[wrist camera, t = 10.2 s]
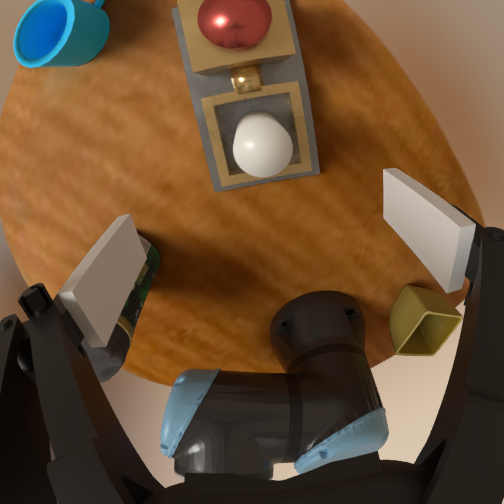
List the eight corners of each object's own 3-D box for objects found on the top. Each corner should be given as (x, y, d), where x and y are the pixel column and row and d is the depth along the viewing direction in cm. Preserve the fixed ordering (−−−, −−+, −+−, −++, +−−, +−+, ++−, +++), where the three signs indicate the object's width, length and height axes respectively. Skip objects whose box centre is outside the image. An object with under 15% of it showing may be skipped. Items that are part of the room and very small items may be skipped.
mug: (84, 77, 26) (44, 80, 19) (44, 52, 23) (3, 52, 16) (144, -6, 21) (116, -27, 14) (98, -27, 18) (65, -45, 11)
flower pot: (376, 314, 45) (394, 355, 38) (401, 272, 41) (426, 311, 33) (413, 319, 47) (433, 356, 39) (438, 280, 42) (464, 316, 34)
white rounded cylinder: (281, 146, 30) (296, 172, 22) (241, 153, 31) (239, 182, 22) (274, 107, 28) (287, 116, 20) (232, 114, 29) (227, 126, 20)
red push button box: (318, 171, 33) (346, 209, 24) (215, 189, 34) (203, 234, 25) (284, -11, 22) (302, -50, 12) (173, 10, 23) (140, -20, 13)
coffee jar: (138, 294, 42) (99, 399, 26) (95, 264, 39) (37, 362, 23) (172, 252, 38) (133, 367, 23) (124, 218, 36) (54, 318, 20)
